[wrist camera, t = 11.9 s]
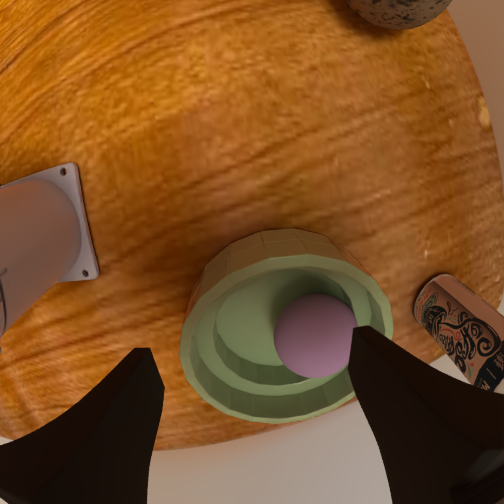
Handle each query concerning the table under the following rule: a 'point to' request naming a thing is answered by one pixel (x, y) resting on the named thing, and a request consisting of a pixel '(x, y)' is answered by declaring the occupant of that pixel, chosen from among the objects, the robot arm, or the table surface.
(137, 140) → the table surface
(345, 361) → the ball
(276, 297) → the bowl
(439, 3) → the decorative egg
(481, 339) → the beer can
